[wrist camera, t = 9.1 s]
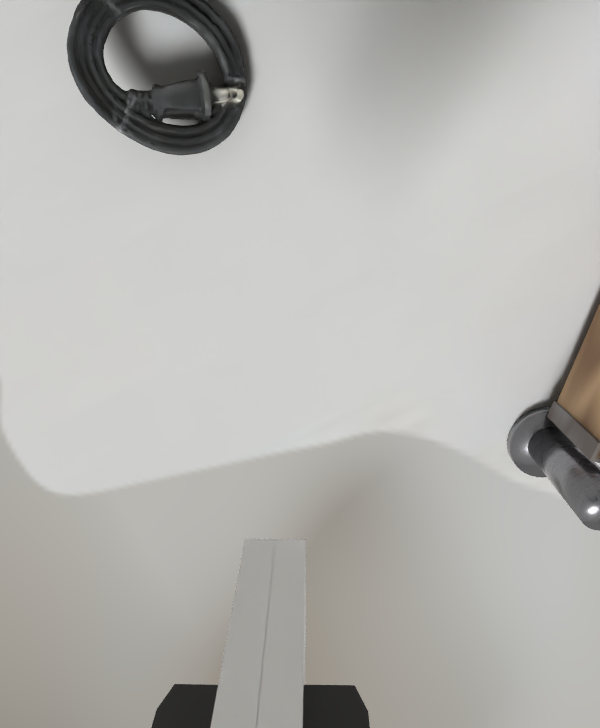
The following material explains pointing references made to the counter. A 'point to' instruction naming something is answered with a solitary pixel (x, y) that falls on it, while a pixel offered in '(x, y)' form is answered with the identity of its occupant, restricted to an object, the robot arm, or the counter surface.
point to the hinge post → (557, 463)
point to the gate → (582, 397)
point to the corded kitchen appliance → (176, 101)
